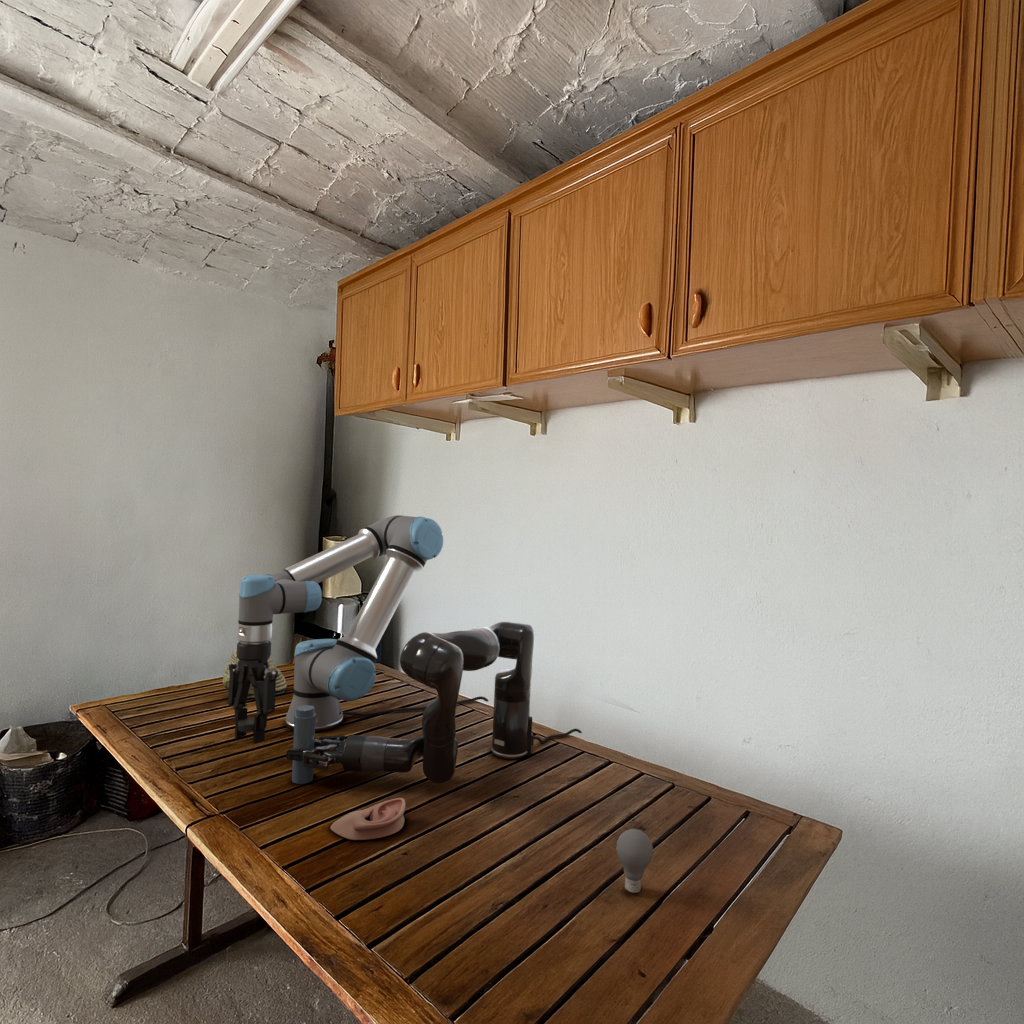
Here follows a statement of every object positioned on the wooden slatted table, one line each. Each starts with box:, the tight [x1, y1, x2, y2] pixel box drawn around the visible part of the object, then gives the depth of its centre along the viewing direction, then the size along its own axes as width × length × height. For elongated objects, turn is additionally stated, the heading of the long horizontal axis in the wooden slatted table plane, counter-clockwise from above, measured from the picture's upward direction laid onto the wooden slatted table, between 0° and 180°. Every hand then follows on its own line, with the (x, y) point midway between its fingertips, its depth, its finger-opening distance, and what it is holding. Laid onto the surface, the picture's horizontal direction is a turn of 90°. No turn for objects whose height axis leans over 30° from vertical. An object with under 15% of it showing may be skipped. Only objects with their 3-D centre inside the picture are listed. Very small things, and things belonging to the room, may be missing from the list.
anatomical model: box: [330, 797, 407, 841], centre depth 123 cm, size 13×4×12 cm
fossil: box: [222, 648, 288, 699], centre depth 198 cm, size 9×18×15 cm, turn 132°
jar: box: [291, 705, 316, 785], centre depth 141 cm, size 5×5×16 cm
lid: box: [237, 716, 254, 733], centre depth 149 cm, size 5×5×2 cm
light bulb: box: [615, 828, 654, 894], centre depth 106 cm, size 6×6×10 cm
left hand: (249, 739), depth 149 cm, fingers closed on lid, 5 cm apart
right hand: (291, 749), depth 141 cm, fingers closed on jar, 4 cm apart
